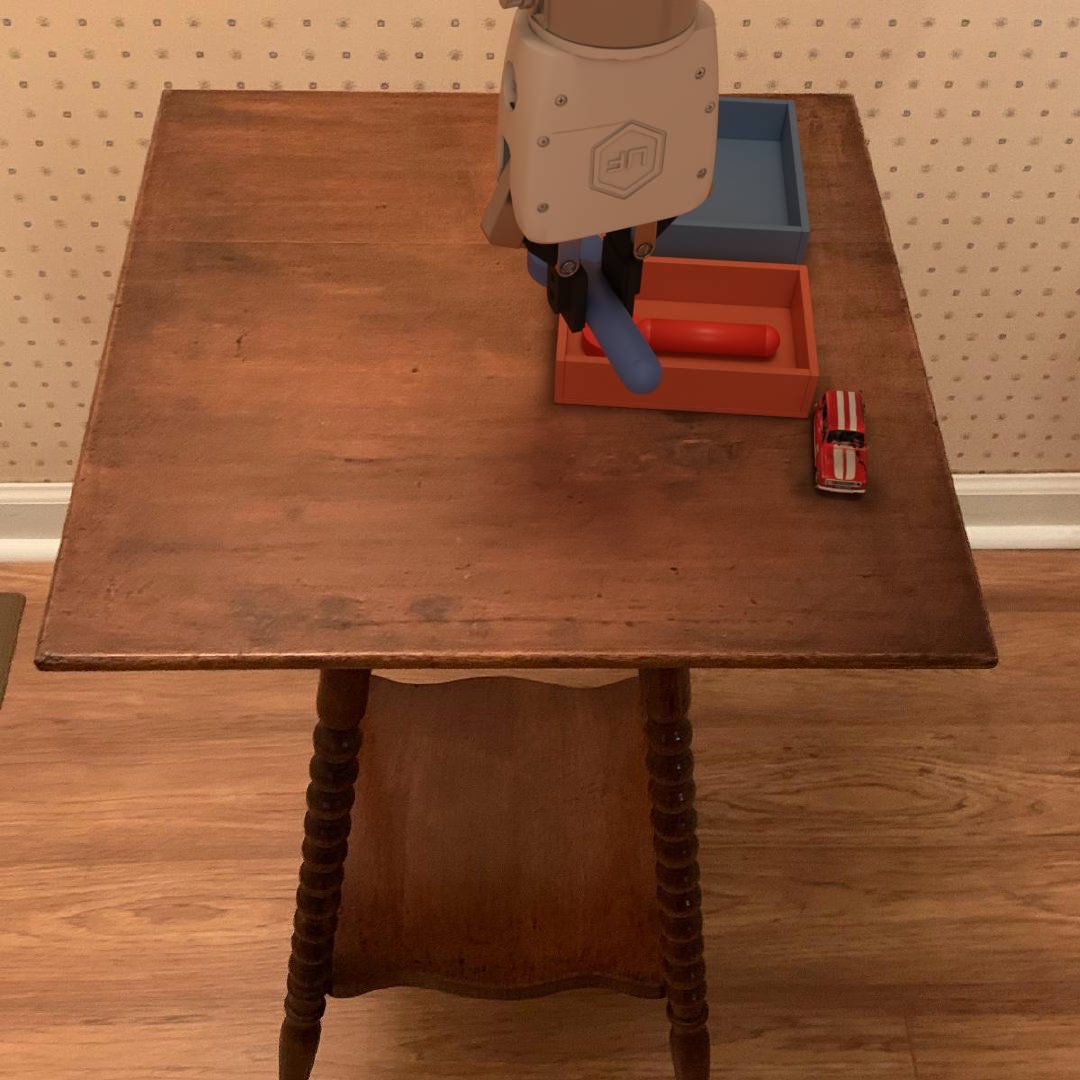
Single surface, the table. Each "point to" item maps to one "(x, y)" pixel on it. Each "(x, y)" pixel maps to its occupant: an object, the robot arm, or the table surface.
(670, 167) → the robot arm
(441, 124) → the table surface
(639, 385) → the blue spoon
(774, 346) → the red spoon
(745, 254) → the blue bin
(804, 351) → the red bin
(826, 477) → the toy car
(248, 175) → the table surface
